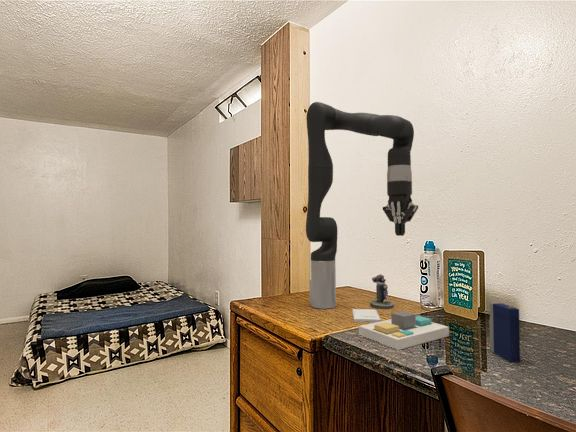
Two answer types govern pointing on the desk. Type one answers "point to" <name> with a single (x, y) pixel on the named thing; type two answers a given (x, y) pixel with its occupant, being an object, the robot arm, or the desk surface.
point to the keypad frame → (405, 334)
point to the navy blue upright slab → (504, 331)
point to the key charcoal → (403, 319)
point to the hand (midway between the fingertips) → (400, 235)
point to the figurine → (381, 294)
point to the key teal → (422, 321)
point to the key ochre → (386, 328)
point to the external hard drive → (365, 315)
